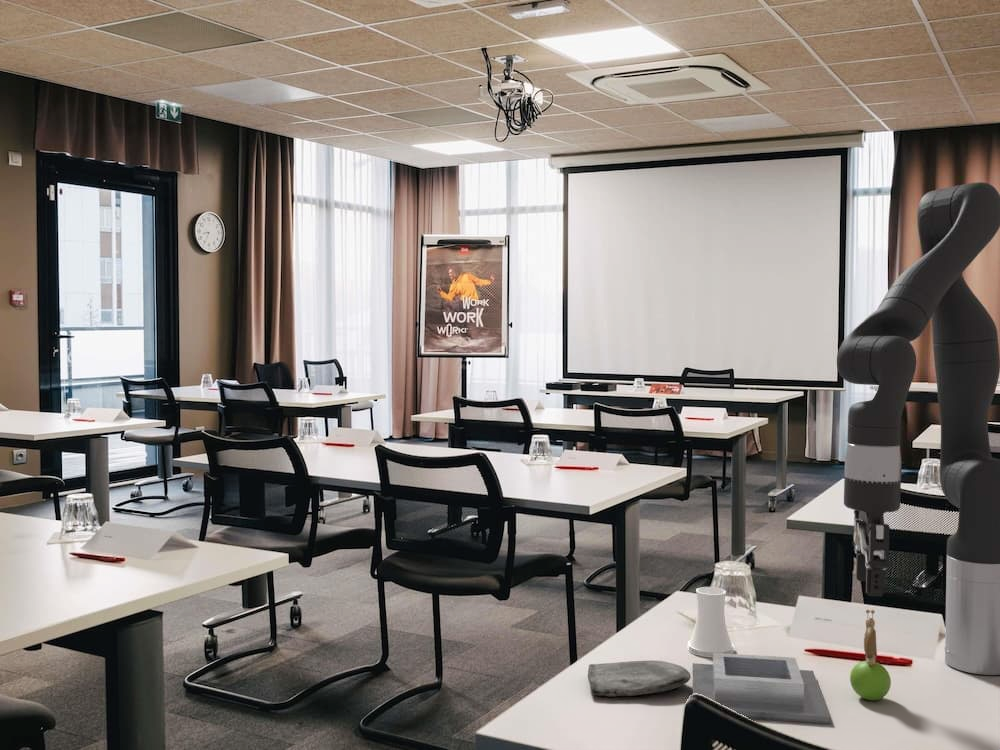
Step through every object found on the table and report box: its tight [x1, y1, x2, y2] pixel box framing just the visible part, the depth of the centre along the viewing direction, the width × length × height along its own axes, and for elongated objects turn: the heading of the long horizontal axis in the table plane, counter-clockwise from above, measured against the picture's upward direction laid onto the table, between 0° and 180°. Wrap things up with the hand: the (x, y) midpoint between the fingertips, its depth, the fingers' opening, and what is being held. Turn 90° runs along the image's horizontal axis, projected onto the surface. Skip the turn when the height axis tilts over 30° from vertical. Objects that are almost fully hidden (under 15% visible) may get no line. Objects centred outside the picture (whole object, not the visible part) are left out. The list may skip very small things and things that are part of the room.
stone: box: [587, 660, 692, 698], centre depth 142 cm, size 11×4×15 cm
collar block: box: [692, 653, 831, 725], centre depth 139 cm, size 18×18×4 cm
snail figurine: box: [849, 609, 892, 701], centre depth 137 cm, size 5×6×12 cm
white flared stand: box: [687, 586, 735, 658], centre depth 158 cm, size 8×8×10 cm
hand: (869, 587), depth 137 cm, fingers open, 8 cm apart
